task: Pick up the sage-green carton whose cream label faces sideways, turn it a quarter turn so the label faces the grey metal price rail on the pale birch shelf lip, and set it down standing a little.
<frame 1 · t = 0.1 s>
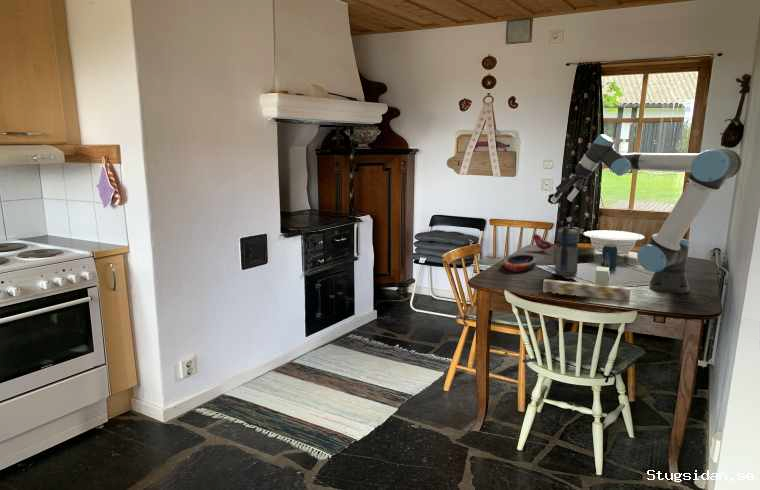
hand: (560, 200, 254), 36 cm above the table, tool tilted 35°, fingers open, 13 cm apart
sage carton: (601, 291, 229), on the table
colander: (611, 257, 296), on the table
dish: (519, 267, 273), on the table
decorative bird figurine: (544, 252, 309), on the table
price rail shelf lip: (584, 295, 222), on the table
soda can: (608, 268, 269), on the table
beverage bottle: (565, 275, 257), on the table
water bottle: (567, 263, 281), on the table
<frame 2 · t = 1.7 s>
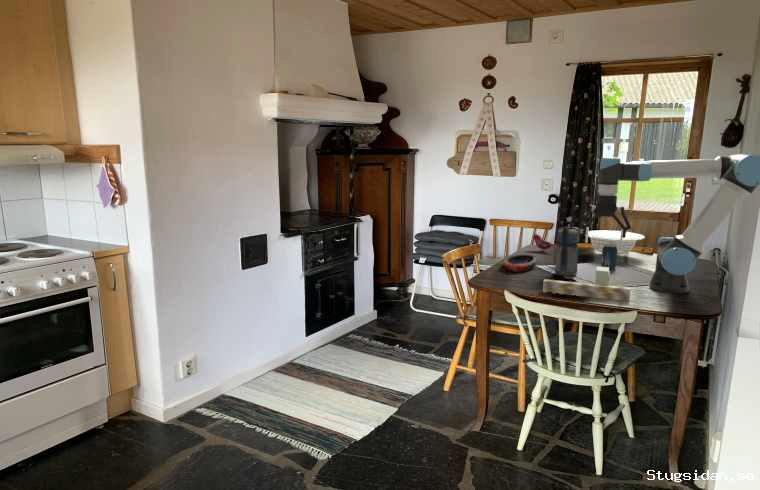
hand: (603, 244, 225), 21 cm above the table, tool pointing down, fingers open, 13 cm apart
nothing on the table moved.
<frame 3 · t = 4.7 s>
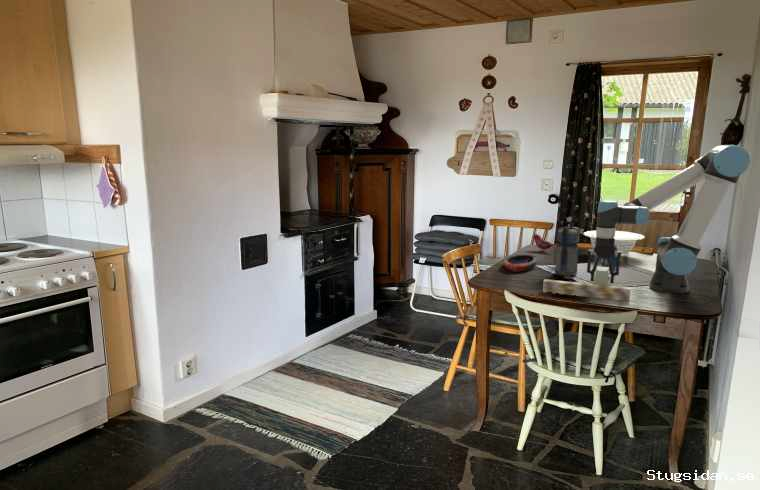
hand: (601, 289, 229), 1 cm above the table, tool pointing down, fingers closed on sage carton, 5 cm apart
sage carton: (601, 291, 229), on the table, touching gripper
everything else where it was.
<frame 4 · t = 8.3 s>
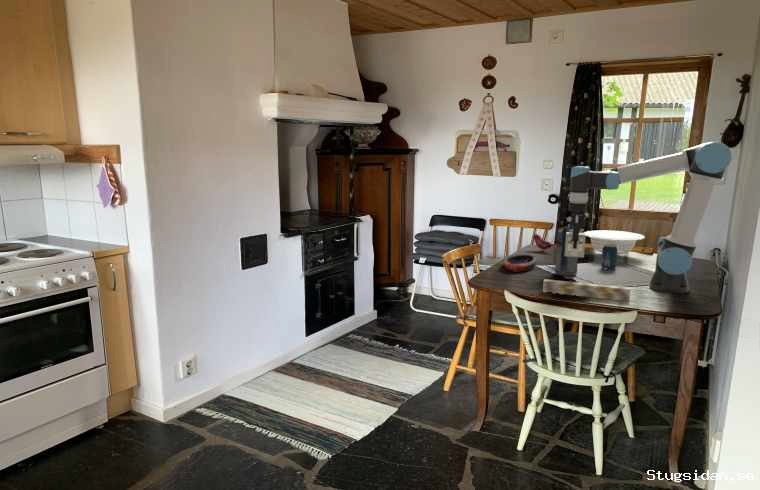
hand: (574, 254, 233), 15 cm above the table, tool pointing down, fingers closed on sage carton, 5 cm apart
sage carton: (574, 255, 234), point 14 cm above the table, touching gripper
everything else where it was.
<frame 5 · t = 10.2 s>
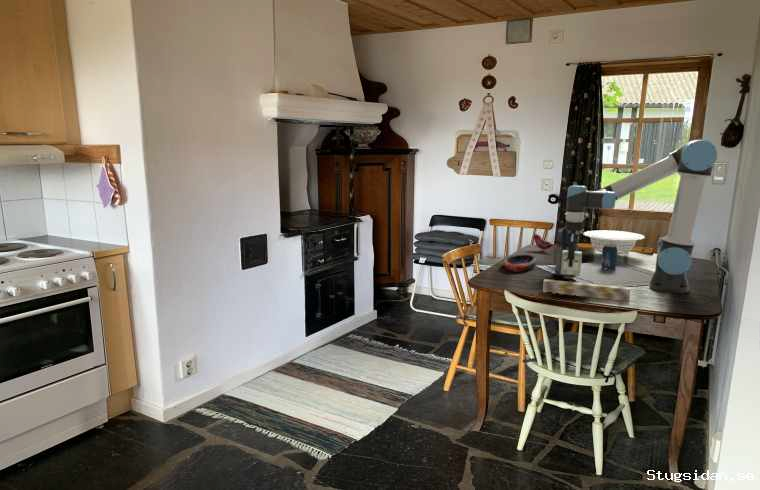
hand: (570, 272, 236), 7 cm above the table, tool pointing down, fingers closed on sage carton, 5 cm apart
sage carton: (570, 273, 236), point 6 cm above the table, touching gripper
everything else where it was.
when the fingers open (2 cm above the table, at t = 11.8 s): sage carton drops 1 cm, on the table.
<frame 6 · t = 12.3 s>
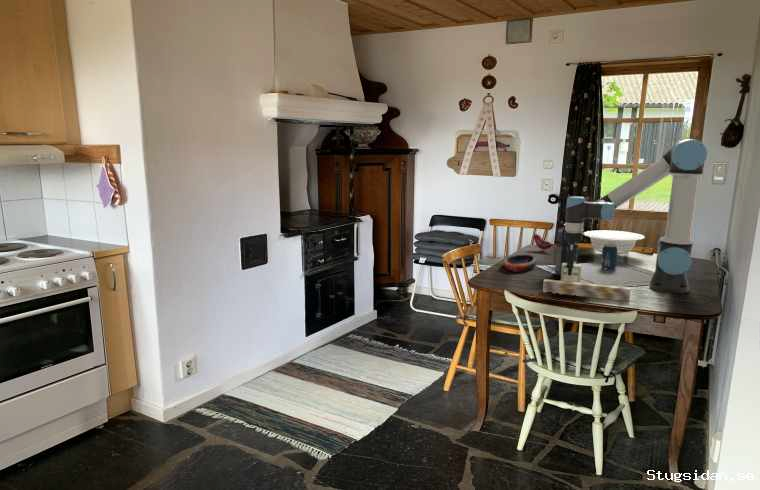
hand: (570, 278, 236), 4 cm above the table, tool pointing down, fingers open, 12 cm apart
sage carton: (570, 286, 237), on the table
everything else where it was.
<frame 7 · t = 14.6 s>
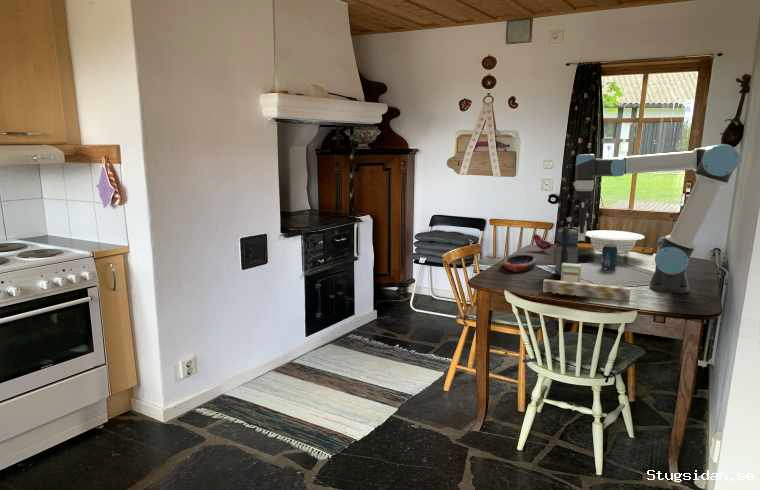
hand: (582, 238, 233), 22 cm above the table, tool pointing down, fingers open, 13 cm apart
nothing on the table moved.
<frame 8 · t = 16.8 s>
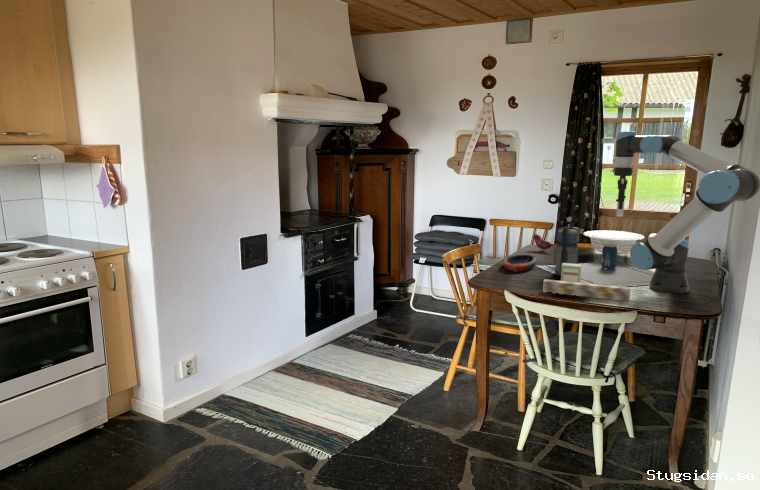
hand: (619, 214, 236), 32 cm above the table, tool pointing down, fingers open, 13 cm apart
nothing on the table moved.
at the end: sage carton inside the target area (0.2 cm from its centre), on the table; sage carton tilted 0°; the gripper is holding nothing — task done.
